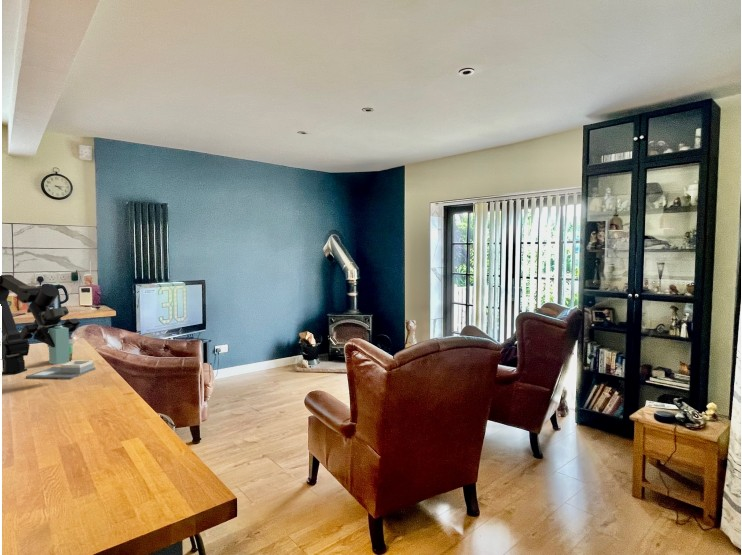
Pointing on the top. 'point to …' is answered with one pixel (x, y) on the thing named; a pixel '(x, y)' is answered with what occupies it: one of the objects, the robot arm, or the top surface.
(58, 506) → the top surface
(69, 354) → the food container
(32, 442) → the top surface
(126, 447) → the top surface
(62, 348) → the pillar
